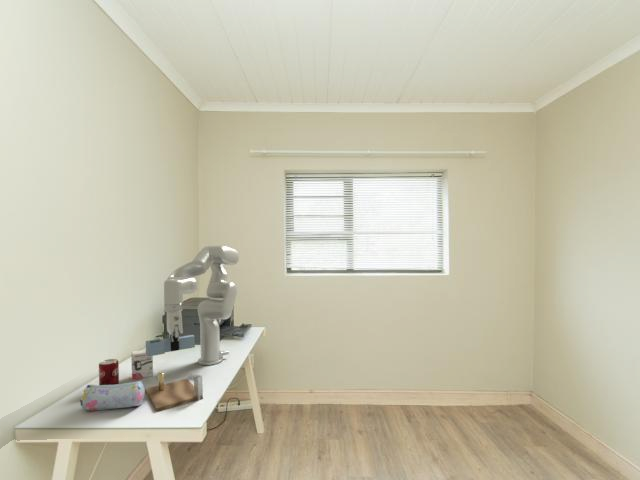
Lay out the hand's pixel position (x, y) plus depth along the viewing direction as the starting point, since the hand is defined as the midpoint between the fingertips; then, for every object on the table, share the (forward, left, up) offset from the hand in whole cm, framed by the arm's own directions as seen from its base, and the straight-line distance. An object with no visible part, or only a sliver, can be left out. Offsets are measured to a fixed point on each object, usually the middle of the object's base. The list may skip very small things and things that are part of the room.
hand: (174, 349), depth 154 cm
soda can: (+24, -12, -16) cm, 31 cm away
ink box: (+10, -19, -16) cm, 27 cm away
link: (+1, 0, 0) cm, 1 cm away
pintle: (+7, +6, -16) cm, 18 cm away
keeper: (-3, +19, -16) cm, 25 cm away
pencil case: (+24, +7, -16) cm, 29 cm away
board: (+3, +11, -16) cm, 19 cm away
